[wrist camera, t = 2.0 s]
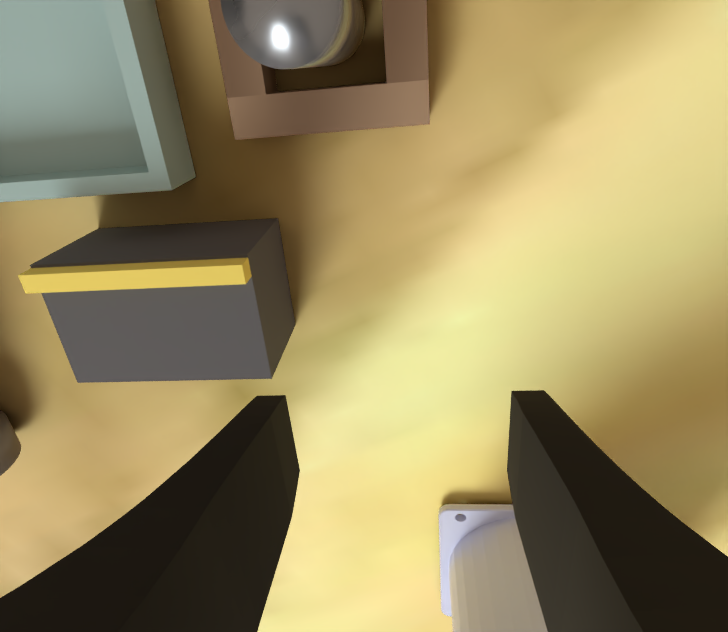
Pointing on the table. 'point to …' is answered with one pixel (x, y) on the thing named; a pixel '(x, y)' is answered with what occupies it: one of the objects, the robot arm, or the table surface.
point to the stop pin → (296, 30)
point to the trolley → (7, 444)
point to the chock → (170, 301)
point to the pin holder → (331, 104)
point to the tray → (87, 101)
